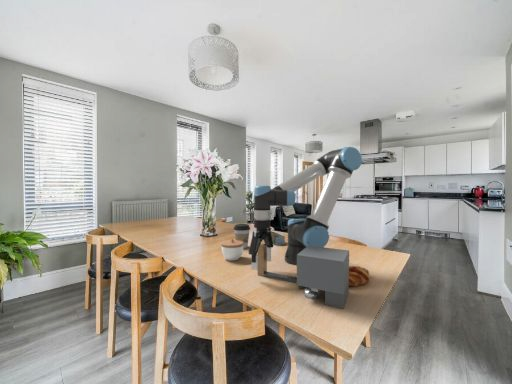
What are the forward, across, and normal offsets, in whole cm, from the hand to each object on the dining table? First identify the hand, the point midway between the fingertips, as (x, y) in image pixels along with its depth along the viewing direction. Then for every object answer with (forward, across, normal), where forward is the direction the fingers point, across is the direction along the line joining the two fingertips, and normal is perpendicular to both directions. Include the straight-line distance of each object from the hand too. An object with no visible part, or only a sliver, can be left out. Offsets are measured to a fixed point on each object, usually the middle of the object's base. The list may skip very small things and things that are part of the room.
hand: (261, 264), depth 108 cm
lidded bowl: (+5, +14, +25) cm, 29 cm away
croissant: (+4, +13, -40) cm, 42 cm away
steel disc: (+5, -10, -26) cm, 28 cm away
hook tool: (+4, -2, -10) cm, 11 cm away
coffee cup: (+5, +36, +33) cm, 50 cm away
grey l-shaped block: (+4, -7, -30) cm, 31 cm away
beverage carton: (+5, +60, +21) cm, 64 cm away
